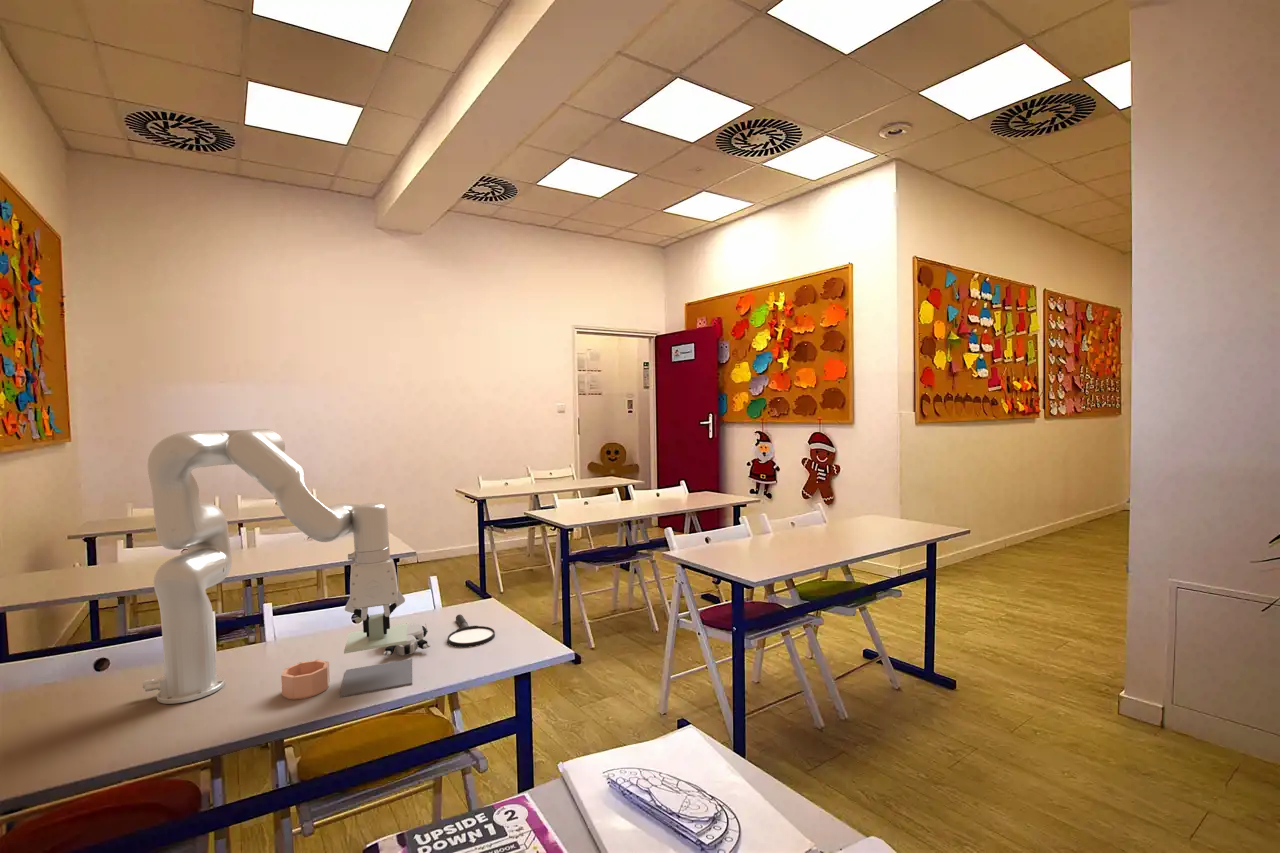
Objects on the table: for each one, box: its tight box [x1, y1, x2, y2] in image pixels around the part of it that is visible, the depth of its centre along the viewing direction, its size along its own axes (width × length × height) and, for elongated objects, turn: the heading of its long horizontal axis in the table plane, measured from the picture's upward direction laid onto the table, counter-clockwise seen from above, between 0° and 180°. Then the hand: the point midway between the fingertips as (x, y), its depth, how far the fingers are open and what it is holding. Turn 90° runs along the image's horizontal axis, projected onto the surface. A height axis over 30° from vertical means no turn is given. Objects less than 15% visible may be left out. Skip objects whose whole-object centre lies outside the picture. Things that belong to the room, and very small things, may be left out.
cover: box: [343, 612, 408, 655], centre depth 144 cm, size 13×13×5 cm
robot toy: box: [382, 622, 431, 657], centre depth 162 cm, size 12×4×15 cm
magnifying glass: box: [447, 613, 496, 648], centre depth 173 cm, size 12×24×2 cm, turn 27°
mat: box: [339, 658, 413, 698], centre depth 144 cm, size 15×15×1 cm
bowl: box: [280, 659, 331, 700], centre depth 139 cm, size 9×9×5 cm
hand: (377, 633), depth 144 cm, fingers closed on cover, 3 cm apart
